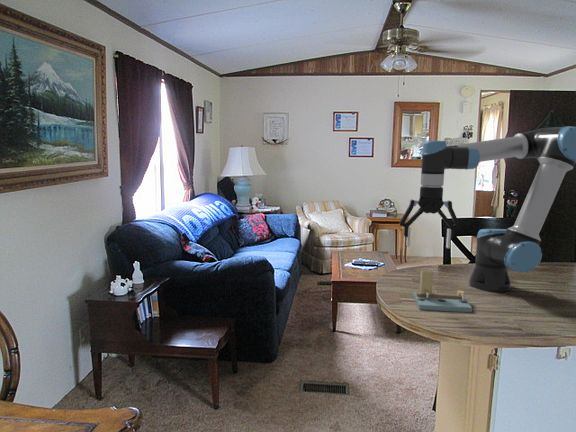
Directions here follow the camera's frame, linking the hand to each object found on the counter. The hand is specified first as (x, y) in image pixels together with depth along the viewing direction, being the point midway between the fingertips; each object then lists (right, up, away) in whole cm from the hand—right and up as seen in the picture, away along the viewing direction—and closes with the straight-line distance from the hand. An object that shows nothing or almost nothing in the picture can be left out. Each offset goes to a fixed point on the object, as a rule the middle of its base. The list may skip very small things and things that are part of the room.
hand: (427, 246), depth 160 cm
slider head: (0, -18, +1) cm, 18 cm away
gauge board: (+5, -20, 0) cm, 20 cm away
